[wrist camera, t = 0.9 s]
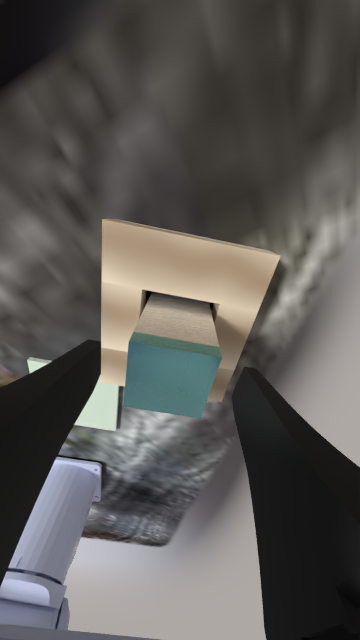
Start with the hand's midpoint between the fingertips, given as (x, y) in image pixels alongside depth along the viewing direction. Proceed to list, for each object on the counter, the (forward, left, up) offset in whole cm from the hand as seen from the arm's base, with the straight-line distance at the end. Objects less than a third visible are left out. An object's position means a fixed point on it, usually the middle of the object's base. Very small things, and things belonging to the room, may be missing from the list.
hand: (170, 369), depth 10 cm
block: (0, 0, -6) cm, 6 cm away
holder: (0, 0, -6) cm, 6 cm away
